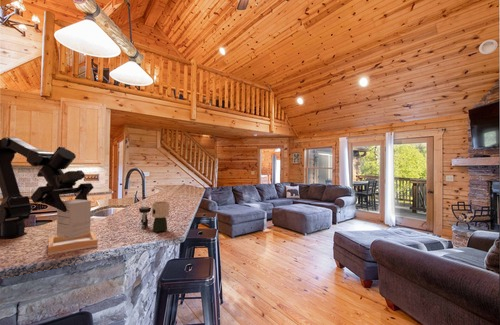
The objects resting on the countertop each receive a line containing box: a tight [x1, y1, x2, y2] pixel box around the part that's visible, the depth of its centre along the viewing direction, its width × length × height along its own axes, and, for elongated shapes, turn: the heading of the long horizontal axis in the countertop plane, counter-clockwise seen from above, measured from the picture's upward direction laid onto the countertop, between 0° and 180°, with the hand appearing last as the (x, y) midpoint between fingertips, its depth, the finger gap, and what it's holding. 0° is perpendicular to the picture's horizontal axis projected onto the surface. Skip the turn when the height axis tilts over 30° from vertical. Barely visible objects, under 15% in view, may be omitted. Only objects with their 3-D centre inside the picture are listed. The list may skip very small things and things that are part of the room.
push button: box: [138, 205, 152, 229], centre depth 107 cm, size 7×5×10 cm
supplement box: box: [56, 198, 92, 239], centre depth 83 cm, size 7×7×13 cm
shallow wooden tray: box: [47, 230, 99, 256], centre depth 82 cm, size 13×13×2 cm
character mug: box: [151, 200, 170, 233], centre depth 102 cm, size 11×7×13 cm, turn 24°
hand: (76, 209), depth 82 cm, fingers closed on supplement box, 7 cm apart
